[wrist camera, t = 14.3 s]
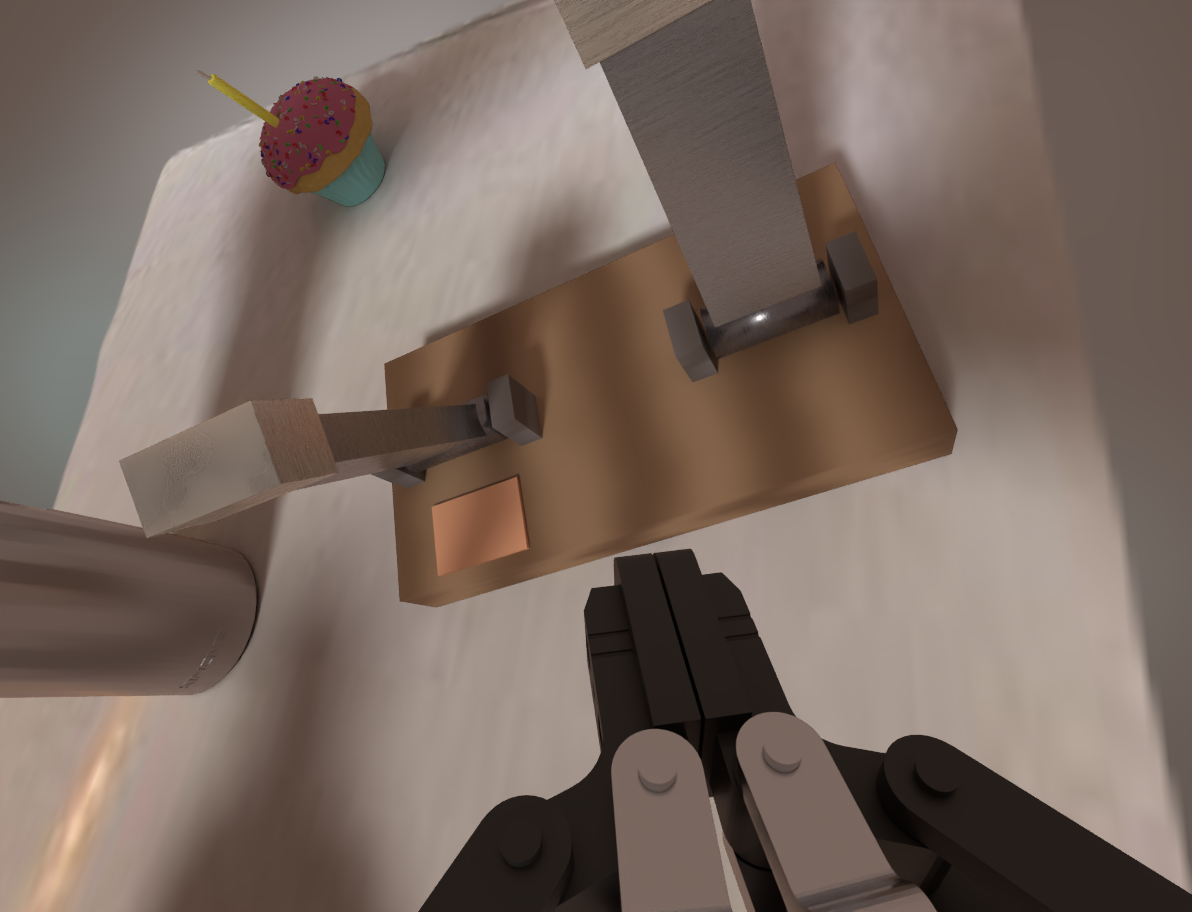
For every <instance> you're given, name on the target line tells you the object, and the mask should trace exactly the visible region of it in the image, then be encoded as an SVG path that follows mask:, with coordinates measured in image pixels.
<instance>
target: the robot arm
mask: <svg viewBox="0 0 1192 912" xmlns="http://www.w3.org/2000/svg"><path fill="white" fill-rule="evenodd" d="M256 603H257V600H256V585H255V580H254V575H253V572H252V570H251V568H250V566H249V564H248V562H247V561H246V560H245V558H244V557H243V556H242V555H241V554H240V553H238V552H237V551H235V550H234V549H231V548H227V547H223V546H219V545H214V544H209V543H204V541H203V540H199V539H194V538H189V537H185V536H180V535H175V534H170V533H165V534H161V535H157V536H153V537H149V538H146V535H145V532H144V529H143V528H141V527H136V526H131V525H127V524H122V523H117V522H112V521H107V520H102V519H98V518H93V517H88V516H83V515H78V514H73V513H69V512H64V511H59V510H54V509H47V510H44V509H39V508H34V507H30V506H24V505H20V504H15V503H10V502H5V501H0V698H24V697H86V696H157V695H193V694H197V693H201V692H204V691H206V690H207V689H209V688H211V687H213V686H215V685H216V684H217V683H218V682H219V681H220V680H222V679H223V678H224V677H225V676H226V675H227V674H228V672H229V671H230V670H231V669H232V668H233V666H234V665H235V664H236V662H237V660H238V659H239V657H240V655H241V654H242V652H243V650H244V648H245V646H246V643H247V641H248V639H249V636H250V634H251V630H252V626H253V622H254V619H255V611H256ZM584 618H585V633H586V648H587V662H588V669H589V675H590V682H591V688H592V696H593V703H594V709H595V716H596V723H597V730H598V737H599V744H600V750H601V753H600V756H599V759H598V761H597V763H596V765H595V766H594V768H593V769H592V771H591V772H590V773H589V774H588V775H587V776H586V777H585V778H584V779H583V780H582V781H580V782H579V783H577V784H576V785H574V786H573V787H571V788H569V789H567V790H565V791H563V792H561V793H560V794H558V795H556V796H554V797H552V798H550V799H548V800H546V799H544V798H541V797H537V796H530V795H524V796H517V797H513V798H510V799H507V800H505V801H503V802H501V803H500V804H498V805H497V806H495V807H494V808H493V809H492V810H491V811H490V812H489V813H488V814H487V815H486V816H485V817H484V819H483V820H482V821H481V823H480V824H479V826H478V827H477V828H476V830H475V831H474V833H473V834H472V836H471V837H470V838H469V840H468V841H467V843H466V844H465V846H464V847H463V848H462V850H461V851H460V853H459V854H458V856H457V857H456V859H455V860H454V861H453V863H452V864H451V866H450V867H449V869H448V870H447V871H446V873H445V874H444V876H443V877H442V879H441V880H440V881H439V883H438V884H437V886H436V887H435V889H434V890H433V891H432V893H431V894H430V896H429V897H428V899H427V900H426V901H425V903H424V904H423V906H422V907H421V909H420V910H419V911H418V912H732V908H731V905H730V901H729V896H728V891H727V886H726V881H725V876H724V871H723V866H722V861H721V856H720V851H719V846H718V840H717V835H716V830H715V825H714V820H713V815H712V810H711V805H710V800H709V797H714V800H715V804H716V808H717V811H718V815H719V818H720V822H721V825H722V829H723V833H722V835H723V843H724V846H725V850H726V853H727V855H728V858H729V861H730V864H731V867H732V870H733V873H734V875H735V878H736V881H737V884H738V887H739V890H740V893H741V895H742V898H743V901H744V904H745V907H746V910H747V912H1192V894H1190V893H1188V892H1187V891H1185V890H1184V889H1182V888H1180V887H1179V886H1177V885H1176V884H1174V883H1172V882H1171V881H1169V880H1167V879H1166V878H1164V877H1163V876H1161V875H1159V874H1158V873H1156V872H1155V871H1153V870H1151V869H1150V868H1148V867H1147V866H1145V865H1143V864H1142V863H1140V862H1139V861H1137V860H1135V859H1134V858H1132V857H1130V856H1129V855H1127V854H1126V853H1124V852H1122V851H1121V850H1119V849H1118V848H1116V847H1114V846H1113V845H1111V844H1110V843H1108V842H1106V841H1105V840H1103V839H1101V838H1100V837H1098V836H1097V835H1095V834H1093V833H1092V832H1090V831H1089V830H1087V829H1085V828H1084V827H1082V826H1081V825H1079V824H1077V823H1076V822H1074V821H1072V820H1071V819H1069V818H1068V817H1066V816H1064V815H1063V814H1061V813H1060V812H1058V811H1056V810H1055V809H1053V808H1052V807H1050V806H1048V805H1047V804H1045V803H1044V802H1042V801H1040V800H1039V799H1037V798H1035V797H1034V796H1032V795H1031V794H1029V793H1027V792H1026V791H1024V790H1023V789H1021V788H1019V787H1018V786H1016V785H1015V784H1013V783H1011V782H1010V781H1008V780H1006V779H1005V778H1003V777H1002V776H1000V775H998V774H997V773H995V772H994V771H992V770H990V769H989V768H987V767H986V766H984V765H982V764H981V763H979V762H978V761H976V760H974V759H973V758H971V757H969V756H968V755H966V754H965V753H963V752H961V751H960V750H958V749H957V748H955V747H953V746H952V745H950V744H948V743H946V742H944V741H942V740H939V739H937V738H933V737H930V736H924V735H909V736H904V737H902V738H900V739H897V740H896V741H895V742H893V743H892V744H891V745H890V747H889V748H888V750H887V752H886V753H880V752H874V751H868V750H863V749H857V748H851V747H845V746H841V745H837V744H834V743H831V742H828V741H826V740H824V739H822V738H821V737H820V736H819V735H818V734H817V732H816V731H815V730H814V729H813V728H812V727H811V726H809V725H808V724H807V723H805V722H804V721H802V720H801V719H799V718H797V717H796V716H795V715H794V713H793V712H792V710H791V708H790V706H789V704H788V701H787V699H786V697H785V694H784V692H783V690H782V687H781V685H780V682H779V680H778V678H777V675H776V673H775V671H774V668H773V666H772V664H771V661H770V659H769V657H768V654H767V652H766V649H765V647H764V645H763V642H762V640H761V638H760V637H759V635H758V631H757V628H756V626H755V624H754V621H753V619H752V618H751V616H750V612H749V609H748V607H747V605H746V602H745V600H744V598H743V595H742V593H741V591H740V590H739V589H738V588H737V587H736V586H735V585H734V584H733V583H732V582H731V581H730V580H729V579H728V578H727V577H726V576H725V575H724V574H723V573H722V572H721V573H713V574H705V575H702V574H701V571H700V568H699V566H698V563H697V560H696V557H695V555H694V553H693V551H692V550H691V549H684V550H676V551H667V552H659V553H654V554H653V555H652V554H651V553H649V554H641V555H633V556H624V557H616V558H614V586H606V587H598V588H592V589H591V592H590V595H589V598H588V600H587V603H586V606H585V609H584Z"/></svg>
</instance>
